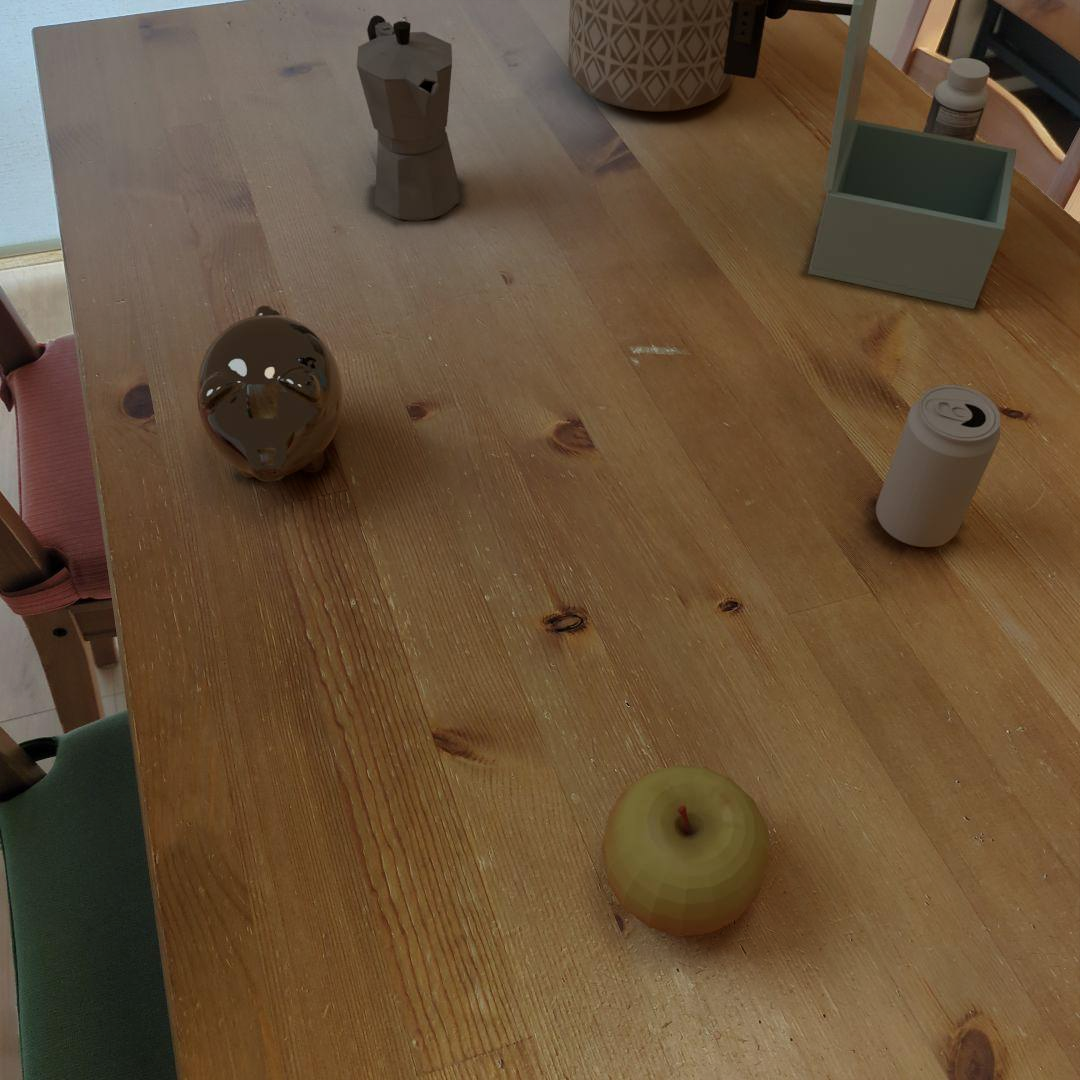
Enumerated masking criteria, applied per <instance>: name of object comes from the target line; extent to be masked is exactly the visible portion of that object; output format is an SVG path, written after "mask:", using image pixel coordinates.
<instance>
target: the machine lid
mask: <svg viewBox="0 0 1080 1080" xmlns="http://www.w3.org/2000/svg"><path fill="white" fill-rule="evenodd" d="M877 1H878V0H853V3H844V2H843V3H842V2H833V1H832V2H831V1H824V0H823V1H822V0H768V5H767V12H766V18H767V19H770V20H779V19H781V18H783V17H784V16H786V14H787V13H788V11H799V12H808V13H819V14H828V15H838V16H849V17H850V18H849V25H848V30H847V31H848V32H847V37H846V44H845V50H844V56H843V63H842V68H841V75H840V81H839V88H838V94H837V101H836V107H835V114H834V119H833V126H832V132H831V139H830V145H829V151H828V157H827V158H828V159H827V163H826V168H825V169H826V170H825V177H824V183H823V184H824V185H823V189H824V190H827V191H828V190H832V189H833V186H834V183H835V180H836V177H837V174H838V171H839V168H840V165H841V162H842V159H843V156H844V153H845V150H846V147H847V144H848V141H849V137H850V134H851V131H852V128H853V125H854V122H855V120H857V117H858V110H859V105H860V99H861V94H862V88H863V83H864V77H865V71H866V65H867V59H868V53H869V47H870V42H871V37H872V36H871V35H872V31H873V25H874V19H875V13H876V7H877Z"/></svg>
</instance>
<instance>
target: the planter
mask: <svg viewBox="0 0 1080 1080" xmlns="http://www.w3.org/2000/svg"><path fill="white" fill-rule="evenodd" d="M732 6H733V1H730V0H569V18H568V21H569V23H568V55H567V56H568V57H567V58H568V59H567V60H568V62H567V64H568V65H567V66H568V70H569V74H570V75H571V77H572V79H573V81H574V82H575V84H576V85H577V86H578V87H579V88H580V89H581V90H583V91H584V92H585V93H586V94H588V95H590V96H591V97H593V98H595V99H597V100H599V101H601V102H603V103H606V104H609V105H612V106H615V107H618V108H623V109H628V110H634V111H640V112H641V111H642V112H674V111H681V110H686V109H691V108H695V107H698V106H703V105H704V104H707V103H709V102H711V101H713V100H715V99H717V98H719V97H720V96H721V95H723V94H724V92H726V91H727V90H728V89H729V88H730V87H731V85H732V84H733V82H734V80H735V77H736V75H730V74H725V73H723V71H724V64H725V56H726V49H727V42H728V35H729V28H730V20H731V13H732Z"/></svg>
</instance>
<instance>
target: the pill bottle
mask: <svg viewBox="0 0 1080 1080" xmlns="http://www.w3.org/2000/svg"><path fill="white" fill-rule="evenodd" d="M990 72H991V70H990V67H989V66H988V64H986V63H985V62H983V61H982V60H979V59H975V58H969V57H960V58H957V59H954V60H952V61H951V63H950V64H949V66H948V69H947V72H946V79H944V80H942V81H941V82H939V84H938V85H937V86H936V88H935V91H934V94H933V97H932V102H931V105H930V108H929V110H928V111H929V112H928V115H927V118H926V122H925V124H924V127H923V131H922V132H925V133H930V134H936V135H941V136H947V137H952V138H958V139H963V140H968V141H974V142H976V141H975V140H976V137H977V135H978V131H979V128H980V125H981V121H982V119H983V117H984V113H985V110H986V108H987V104H988V101H989V92H988V89H987V88H986V85H987V83H988V81H989V80H988V79H989V76H990Z"/></svg>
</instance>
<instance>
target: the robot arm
mask: <svg viewBox="0 0 1080 1080" xmlns="http://www.w3.org/2000/svg"><path fill="white" fill-rule="evenodd" d="M730 1H733V6H732V13H731V20H730V28H729V35H728V42H727V49H726V56H725V64H724V71H723V73H725V74H730V75H735V77H741V78H742V77H743V78H747V79H752V80H754V79H756V76H757V71H758V66H759V60H760V53H761V48H762V41H763V36H764V29H765V24H766V18H767V17H766V12H767V5H768V0H730Z"/></svg>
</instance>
